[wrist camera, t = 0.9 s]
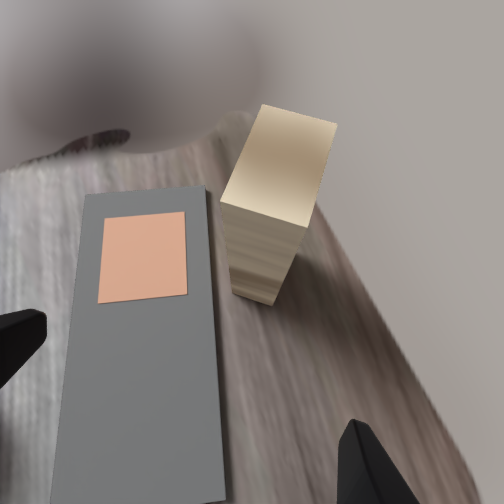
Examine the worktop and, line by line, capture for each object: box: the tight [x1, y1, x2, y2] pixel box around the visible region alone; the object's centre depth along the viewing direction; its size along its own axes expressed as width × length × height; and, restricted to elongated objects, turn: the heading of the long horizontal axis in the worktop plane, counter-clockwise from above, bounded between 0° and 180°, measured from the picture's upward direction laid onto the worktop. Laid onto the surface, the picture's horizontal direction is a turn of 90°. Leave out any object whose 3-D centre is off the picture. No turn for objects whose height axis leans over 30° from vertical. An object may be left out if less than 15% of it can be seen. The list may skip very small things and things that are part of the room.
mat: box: [50, 185, 226, 504], centre depth 21 cm, size 22×10×1 cm, turn 7°
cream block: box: [220, 104, 337, 306], centre depth 17 cm, size 5×3×13 cm, turn 162°
